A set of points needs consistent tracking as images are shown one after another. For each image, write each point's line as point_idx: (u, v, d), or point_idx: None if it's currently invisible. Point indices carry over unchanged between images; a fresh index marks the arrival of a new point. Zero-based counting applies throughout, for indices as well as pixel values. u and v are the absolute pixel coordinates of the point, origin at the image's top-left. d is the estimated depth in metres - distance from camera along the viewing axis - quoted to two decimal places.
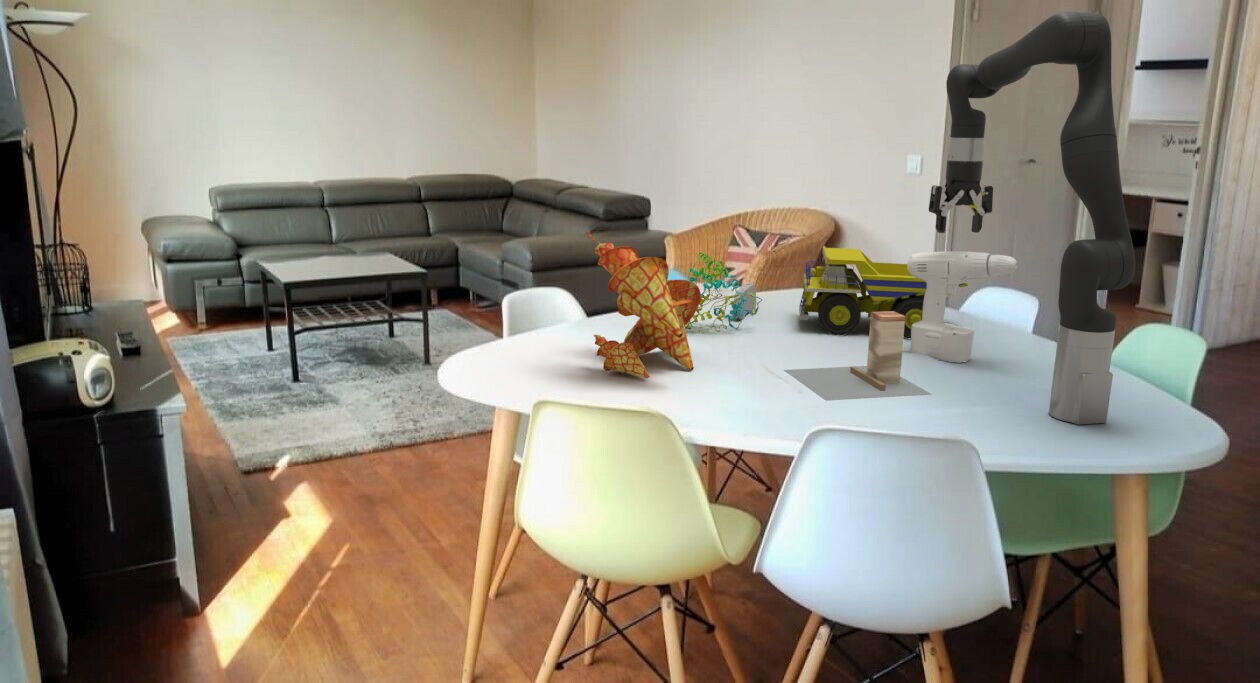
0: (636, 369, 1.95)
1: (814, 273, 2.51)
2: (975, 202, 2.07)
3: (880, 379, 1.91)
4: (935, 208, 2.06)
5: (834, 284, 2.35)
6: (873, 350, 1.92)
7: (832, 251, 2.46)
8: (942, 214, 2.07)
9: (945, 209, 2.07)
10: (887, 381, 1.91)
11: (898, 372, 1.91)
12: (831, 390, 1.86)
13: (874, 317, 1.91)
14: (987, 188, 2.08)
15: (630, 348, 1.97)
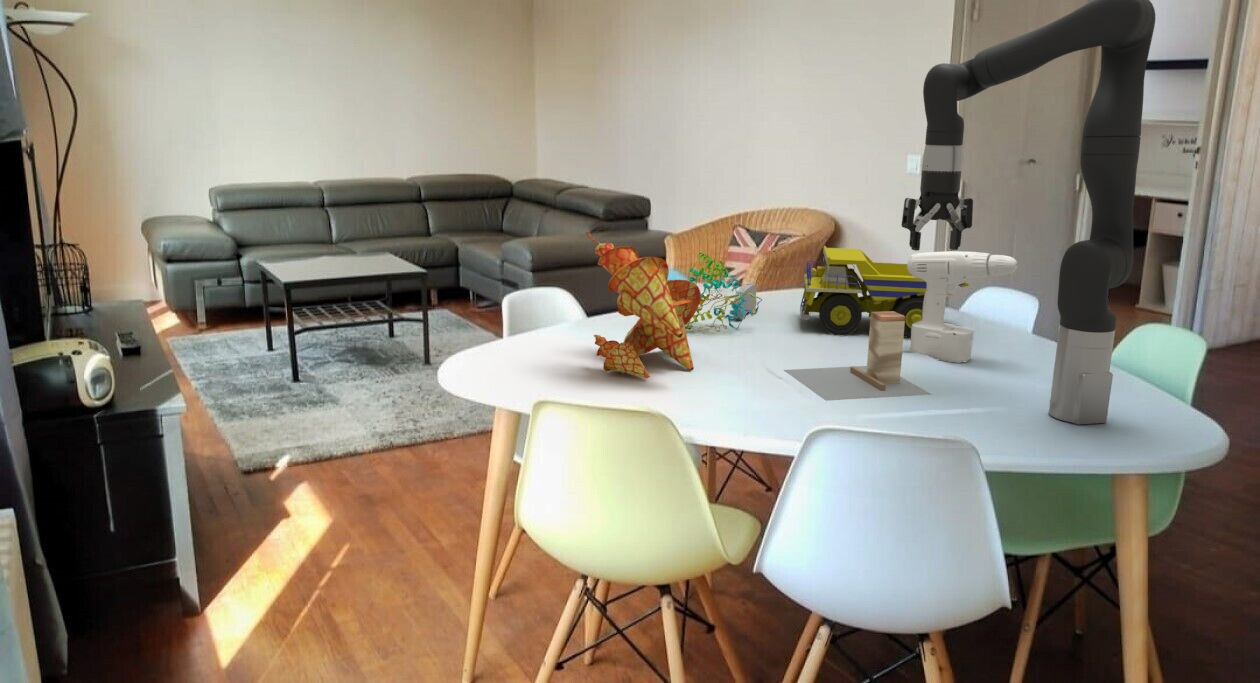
0: (636, 369, 1.95)
1: (815, 273, 2.51)
2: (953, 216, 1.87)
3: (880, 379, 1.91)
4: (908, 223, 1.86)
5: (835, 284, 2.35)
6: (873, 350, 1.92)
7: (833, 251, 2.46)
8: (916, 230, 1.87)
9: (919, 224, 1.86)
10: (887, 381, 1.91)
11: (898, 372, 1.91)
12: (831, 390, 1.86)
13: (874, 317, 1.91)
14: (966, 201, 1.88)
15: (630, 348, 1.97)
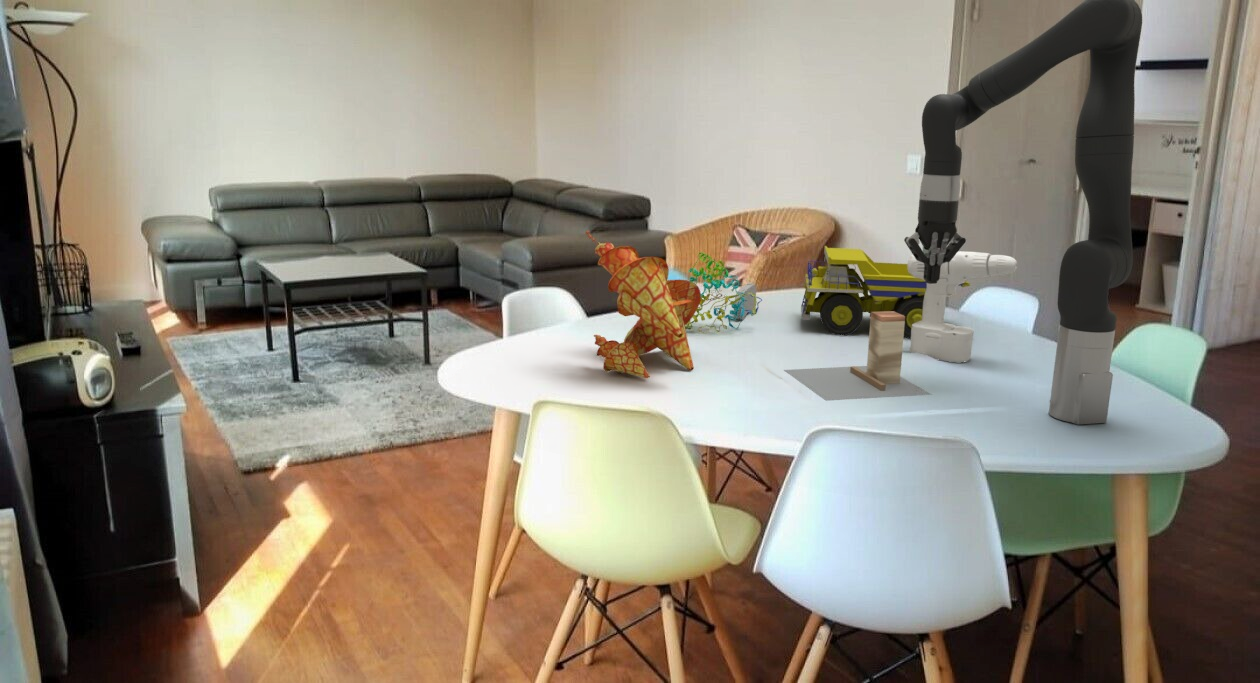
0: (636, 369, 1.95)
1: (816, 273, 2.51)
2: (942, 246, 1.88)
3: (880, 379, 1.91)
4: (923, 257, 1.88)
5: (836, 284, 2.35)
6: (873, 350, 1.92)
7: (834, 251, 2.46)
8: (931, 263, 1.89)
9: (931, 258, 1.88)
10: (887, 381, 1.91)
11: (898, 372, 1.91)
12: (831, 390, 1.86)
13: (874, 317, 1.91)
14: (960, 238, 1.89)
15: (630, 348, 1.97)
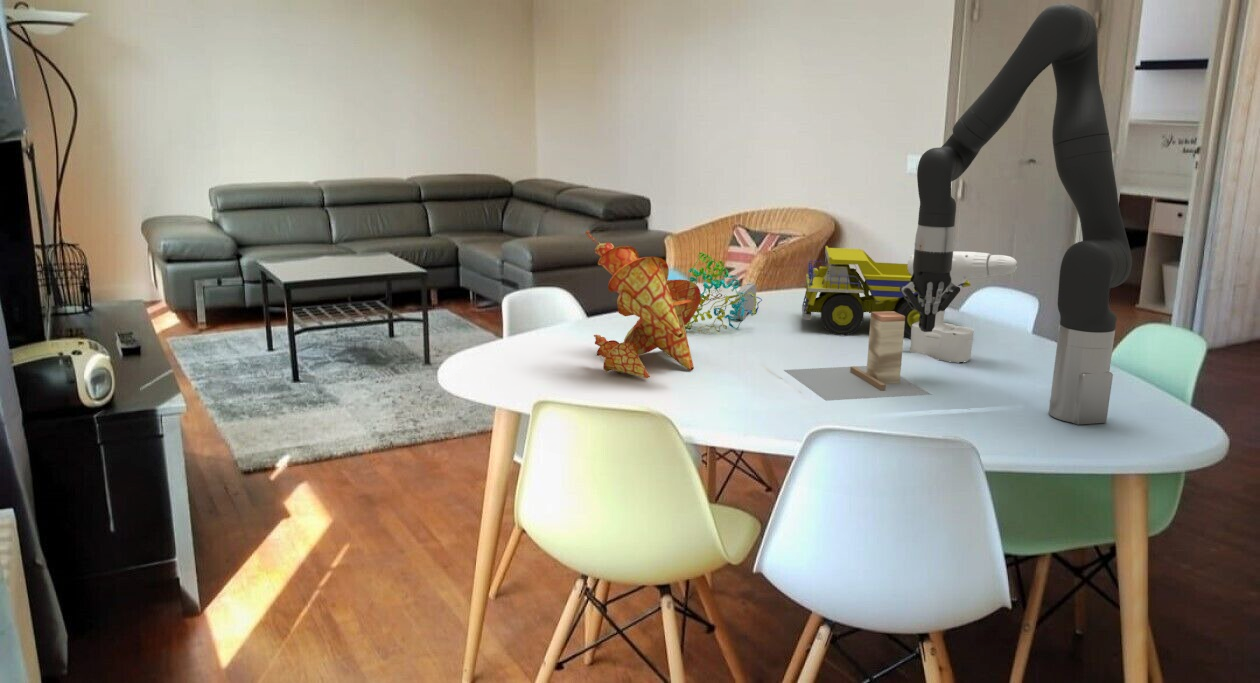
0: (636, 369, 1.95)
1: (817, 273, 2.51)
2: (937, 296, 1.90)
3: (880, 379, 1.91)
4: (918, 306, 1.90)
5: (837, 284, 2.35)
6: (873, 350, 1.92)
7: (835, 251, 2.46)
8: (926, 312, 1.91)
9: (926, 307, 1.91)
10: (887, 381, 1.91)
11: (898, 372, 1.91)
12: (831, 390, 1.86)
13: (874, 317, 1.91)
14: (955, 287, 1.92)
15: (630, 348, 1.97)
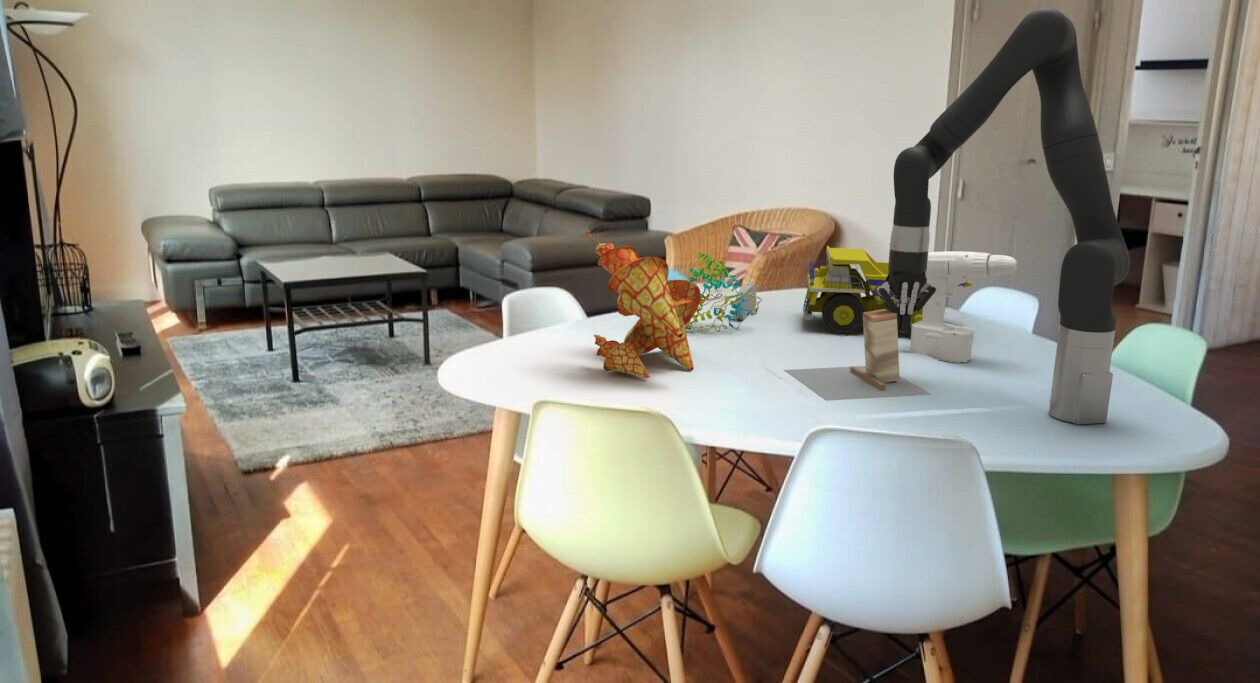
0: (636, 369, 1.95)
1: (818, 273, 2.51)
2: (912, 296, 1.89)
3: (879, 379, 1.91)
4: (893, 306, 1.89)
5: (838, 284, 2.35)
6: (869, 350, 1.92)
7: (836, 251, 2.46)
8: (901, 313, 1.90)
9: (901, 307, 1.90)
10: (887, 380, 1.91)
11: (897, 369, 1.91)
12: (831, 390, 1.86)
13: (866, 318, 1.91)
14: (930, 287, 1.91)
15: (630, 348, 1.97)
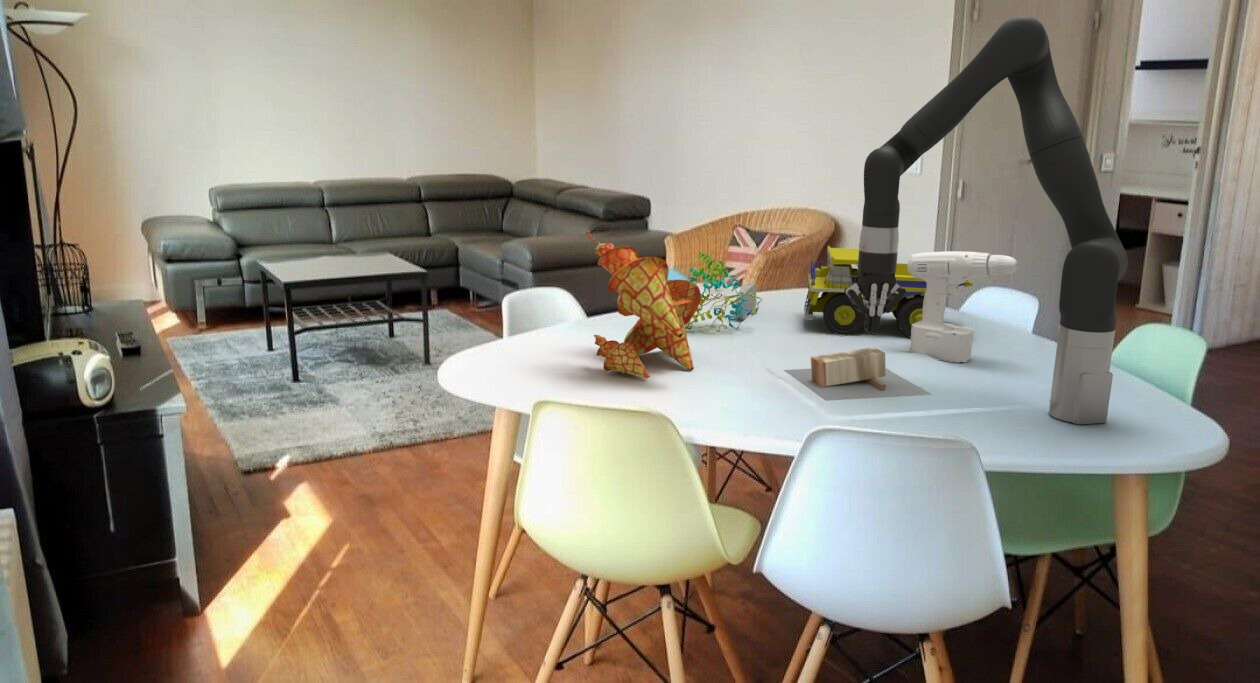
0: (636, 369, 1.95)
1: (819, 273, 2.51)
2: (881, 297, 1.88)
3: (881, 373, 1.91)
4: (862, 308, 1.88)
5: (839, 284, 2.35)
6: None
7: (837, 251, 2.46)
8: (870, 314, 1.89)
9: (871, 309, 1.88)
10: (883, 365, 1.90)
11: (875, 356, 1.89)
12: (831, 390, 1.86)
13: None
14: (900, 289, 1.89)
15: (630, 348, 1.97)
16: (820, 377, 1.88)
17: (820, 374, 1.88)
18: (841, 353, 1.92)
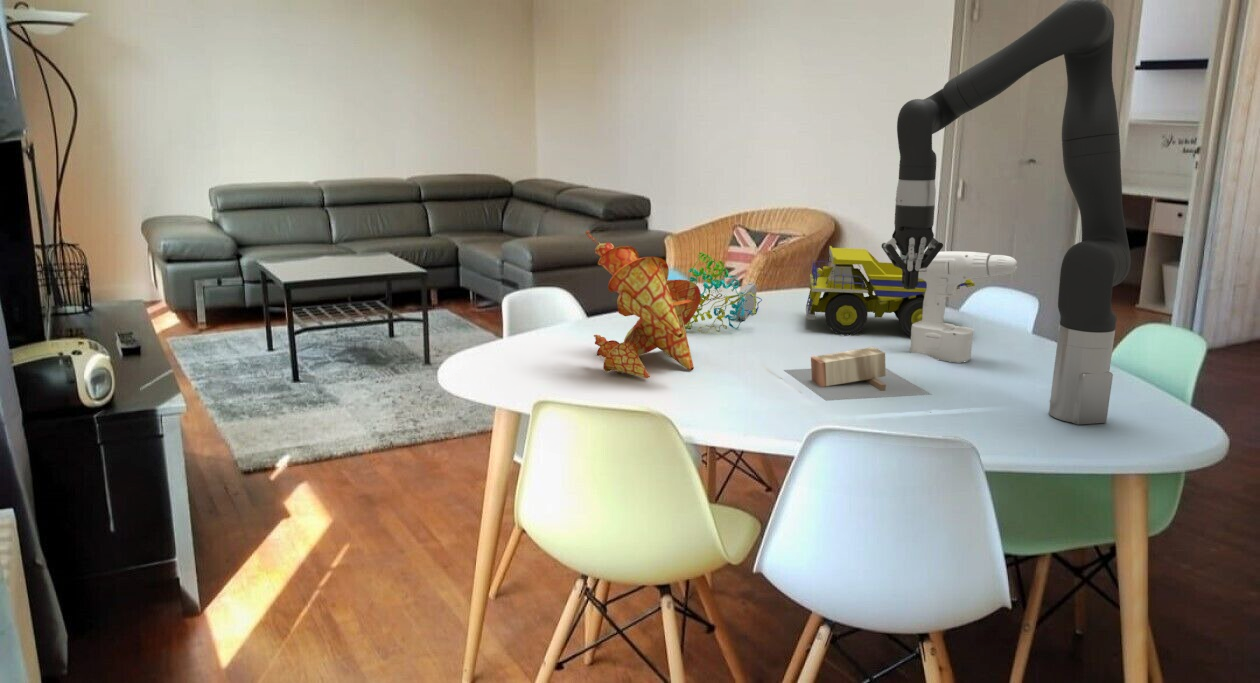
0: (636, 369, 1.95)
1: (821, 273, 2.51)
2: (919, 252, 1.87)
3: (881, 373, 1.91)
4: (900, 263, 1.87)
5: (841, 284, 2.35)
6: None
7: (839, 251, 2.46)
8: (908, 269, 1.88)
9: (909, 264, 1.88)
10: (883, 365, 1.90)
11: (875, 356, 1.89)
12: (831, 390, 1.86)
13: None
14: (937, 243, 1.88)
15: (630, 348, 1.97)
16: (820, 377, 1.88)
17: (820, 374, 1.88)
18: (841, 353, 1.92)
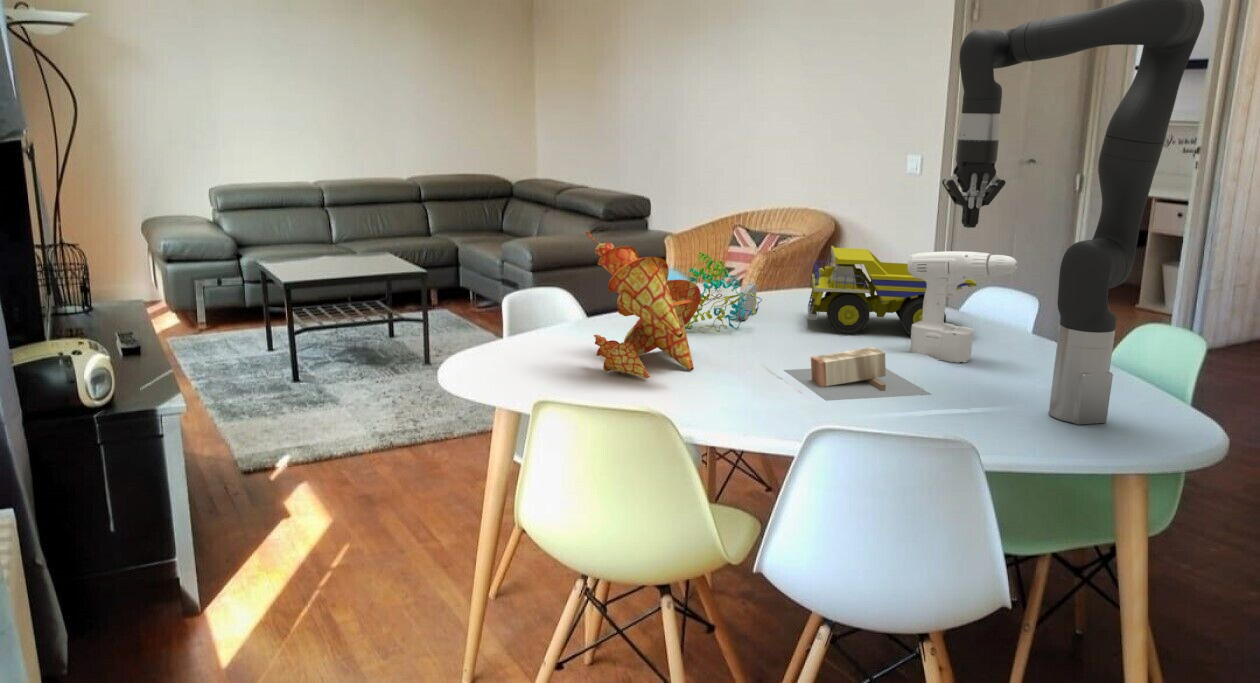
0: (636, 369, 1.95)
1: (822, 273, 2.51)
2: (981, 188, 1.82)
3: (881, 373, 1.91)
4: (962, 199, 1.82)
5: (843, 284, 2.36)
6: None
7: (841, 251, 2.47)
8: (969, 206, 1.83)
9: (970, 201, 1.83)
10: (883, 365, 1.90)
11: (875, 356, 1.89)
12: (831, 390, 1.86)
13: None
14: (999, 180, 1.84)
15: (630, 348, 1.97)
16: (820, 377, 1.88)
17: (820, 374, 1.88)
18: (841, 353, 1.92)
